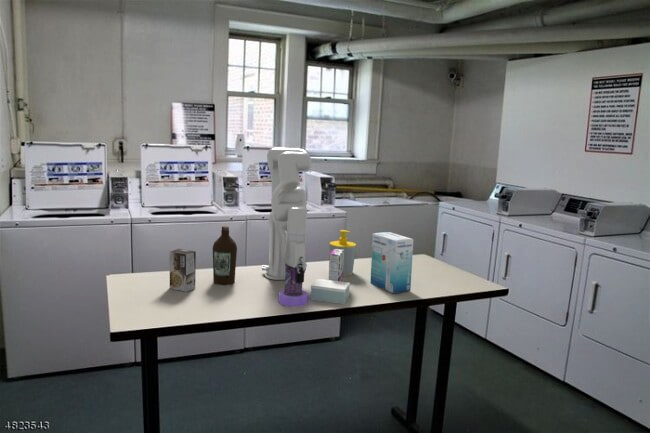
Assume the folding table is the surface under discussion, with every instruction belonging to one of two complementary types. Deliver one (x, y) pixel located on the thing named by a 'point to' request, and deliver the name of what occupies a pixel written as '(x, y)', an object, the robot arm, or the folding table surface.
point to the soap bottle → (345, 252)
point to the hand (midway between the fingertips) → (294, 279)
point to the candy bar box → (336, 265)
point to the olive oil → (224, 258)
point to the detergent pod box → (330, 291)
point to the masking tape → (293, 298)
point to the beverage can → (292, 281)
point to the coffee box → (182, 269)
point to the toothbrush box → (391, 262)
